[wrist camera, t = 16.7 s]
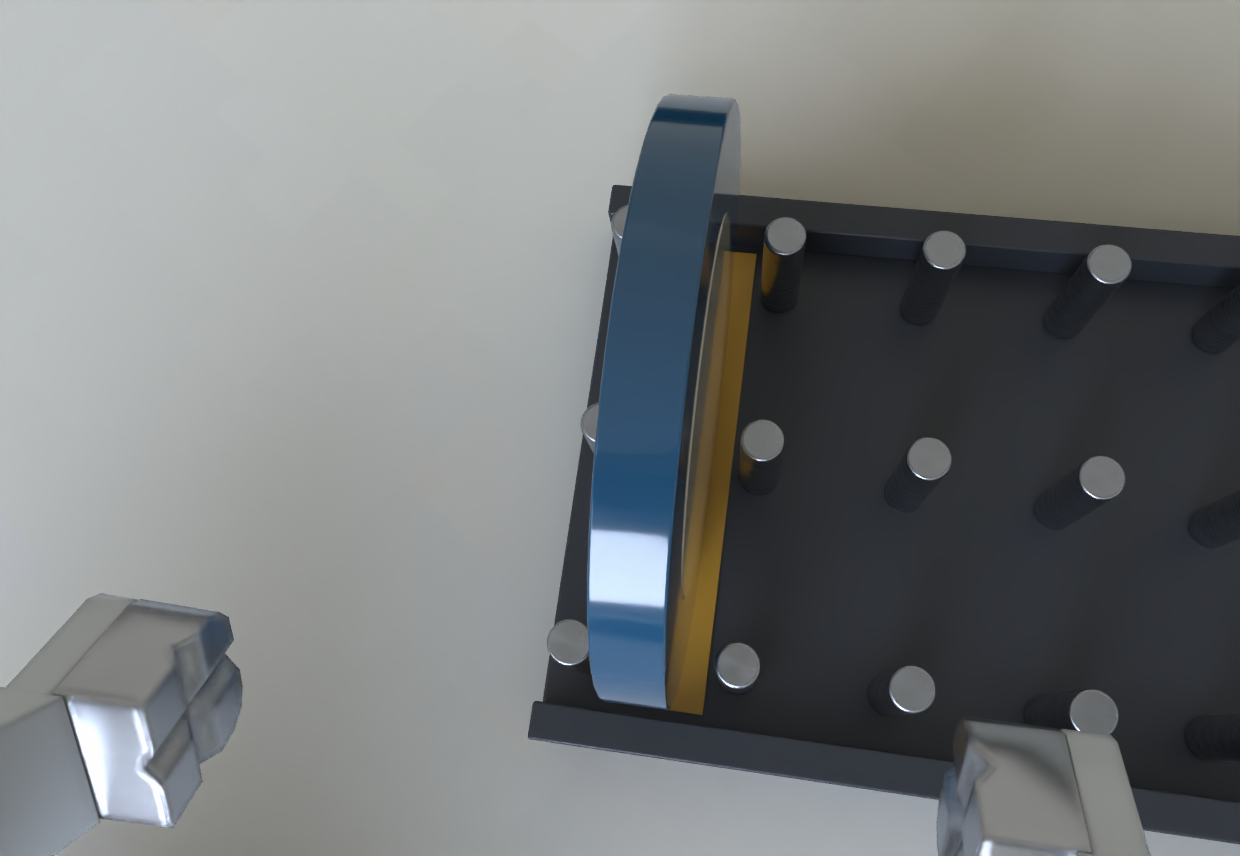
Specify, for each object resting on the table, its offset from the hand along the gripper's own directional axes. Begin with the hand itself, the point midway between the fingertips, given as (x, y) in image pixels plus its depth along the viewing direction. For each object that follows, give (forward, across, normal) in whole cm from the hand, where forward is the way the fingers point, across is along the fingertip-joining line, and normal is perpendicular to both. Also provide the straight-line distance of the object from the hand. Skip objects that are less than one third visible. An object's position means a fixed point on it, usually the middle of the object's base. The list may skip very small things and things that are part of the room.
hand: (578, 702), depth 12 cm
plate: (+13, 0, +5) cm, 14 cm away
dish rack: (+14, -7, +6) cm, 16 cm away
